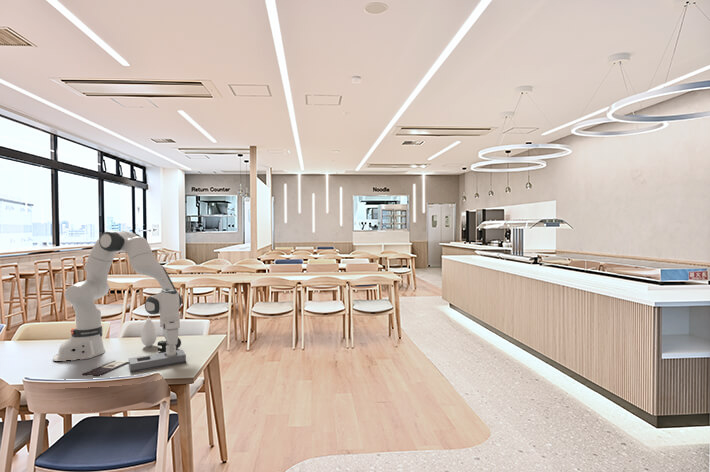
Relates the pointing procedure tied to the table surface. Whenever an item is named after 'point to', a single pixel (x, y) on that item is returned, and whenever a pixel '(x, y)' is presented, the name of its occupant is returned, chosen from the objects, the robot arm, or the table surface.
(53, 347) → the table surface
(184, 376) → the table surface
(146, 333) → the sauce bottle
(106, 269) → the robot arm
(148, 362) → the power strip
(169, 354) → the charger
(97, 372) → the chocolate bar
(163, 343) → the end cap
